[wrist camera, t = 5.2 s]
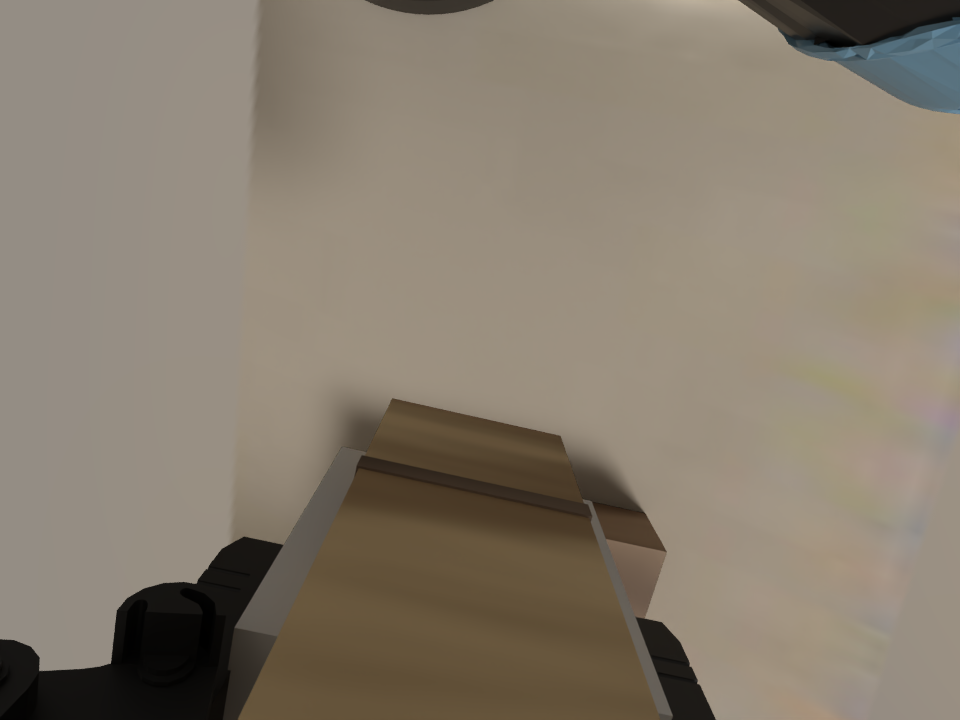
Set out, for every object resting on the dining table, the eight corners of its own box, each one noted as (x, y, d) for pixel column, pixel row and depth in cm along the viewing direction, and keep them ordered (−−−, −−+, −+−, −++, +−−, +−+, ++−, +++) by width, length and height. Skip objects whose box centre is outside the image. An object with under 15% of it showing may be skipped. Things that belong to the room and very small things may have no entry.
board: (396, 459, 33) (384, 491, 29) (645, 513, 34) (666, 551, 30) (342, 704, 37) (326, 762, 33) (569, 749, 38) (580, 810, 34)
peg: (390, 395, 16) (147, 890, 4) (562, 434, 16) (770, 1001, 5) (358, 552, 17) (90, 1289, 5) (520, 586, 17) (600, 1365, 6)
